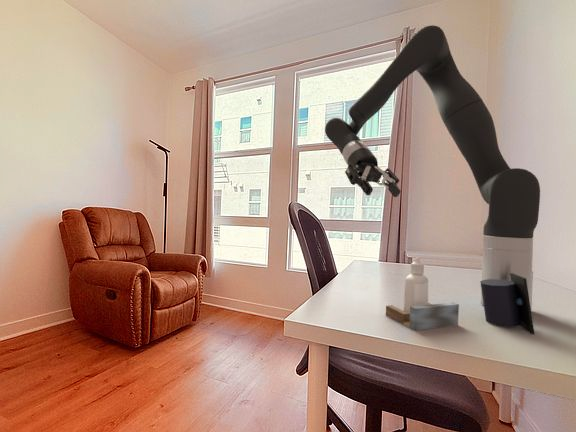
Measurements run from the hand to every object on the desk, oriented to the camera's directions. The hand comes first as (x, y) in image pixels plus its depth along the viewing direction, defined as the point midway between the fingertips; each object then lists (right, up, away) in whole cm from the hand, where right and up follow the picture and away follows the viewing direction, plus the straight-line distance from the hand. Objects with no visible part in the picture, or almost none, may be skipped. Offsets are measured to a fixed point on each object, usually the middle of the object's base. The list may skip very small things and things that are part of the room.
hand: (384, 193), depth 66 cm
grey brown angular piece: (+2, -27, -13) cm, 30 cm away
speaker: (+19, -28, -14) cm, 36 cm away
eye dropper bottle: (+2, -27, -12) cm, 29 cm away
